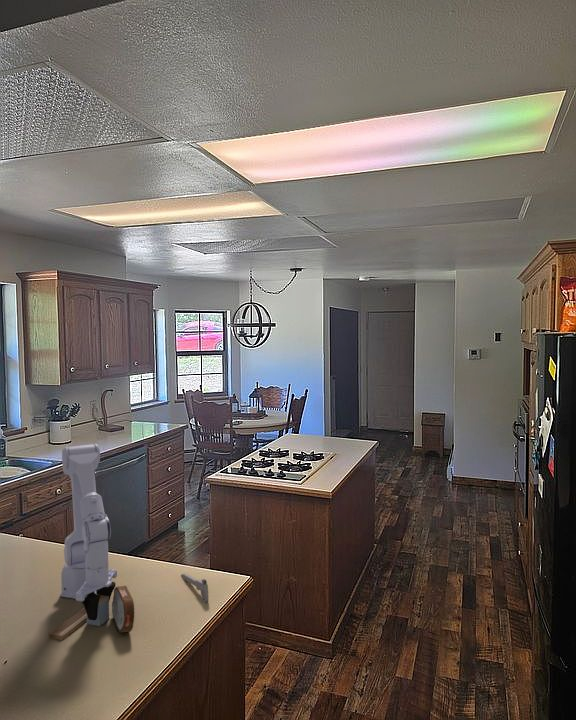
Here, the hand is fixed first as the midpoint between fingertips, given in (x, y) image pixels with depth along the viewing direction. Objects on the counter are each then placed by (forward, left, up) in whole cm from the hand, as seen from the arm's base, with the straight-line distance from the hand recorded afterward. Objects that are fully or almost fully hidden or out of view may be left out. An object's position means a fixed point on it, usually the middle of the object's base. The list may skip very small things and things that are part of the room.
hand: (97, 614), depth 139 cm
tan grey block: (0, 0, -2) cm, 2 cm away
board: (-5, -3, -2) cm, 6 cm away
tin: (+7, 0, -2) cm, 7 cm away
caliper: (+16, +24, -2) cm, 29 cm away
